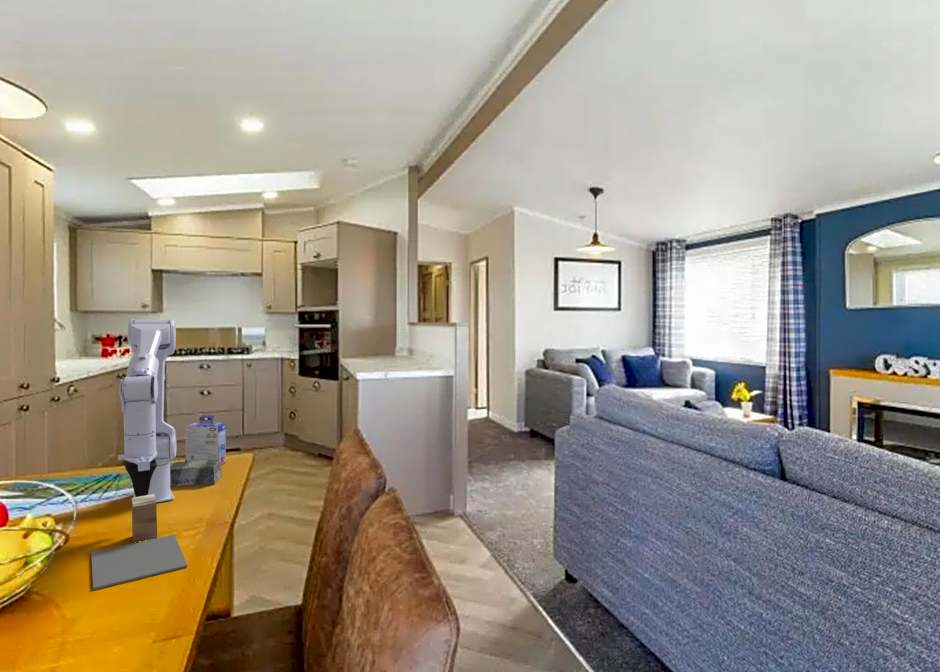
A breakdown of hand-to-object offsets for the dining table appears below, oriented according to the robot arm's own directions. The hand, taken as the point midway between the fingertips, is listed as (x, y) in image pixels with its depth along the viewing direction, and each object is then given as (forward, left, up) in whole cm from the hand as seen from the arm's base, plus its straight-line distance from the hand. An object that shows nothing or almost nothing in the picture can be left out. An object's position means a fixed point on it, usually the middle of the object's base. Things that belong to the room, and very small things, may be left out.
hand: (141, 496), depth 114 cm
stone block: (-29, +14, -8) cm, 32 cm away
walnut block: (+5, 0, -7) cm, 9 cm away
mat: (+16, -2, -7) cm, 18 cm away
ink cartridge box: (-43, +20, -7) cm, 48 cm away
